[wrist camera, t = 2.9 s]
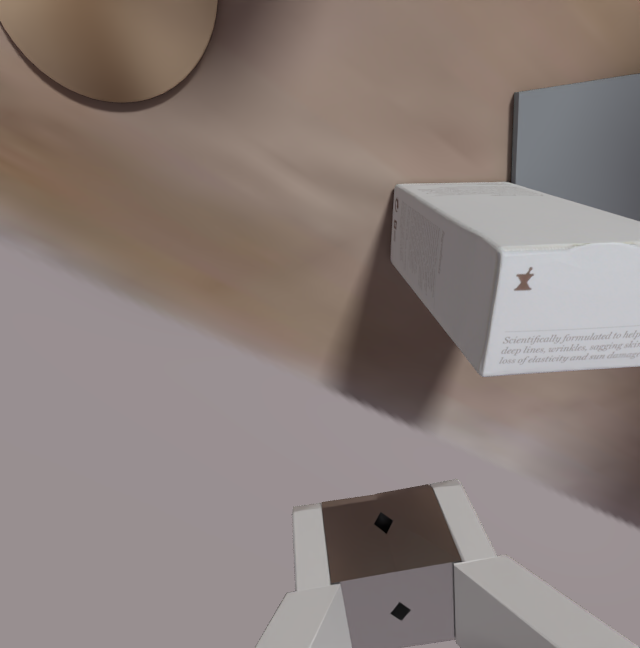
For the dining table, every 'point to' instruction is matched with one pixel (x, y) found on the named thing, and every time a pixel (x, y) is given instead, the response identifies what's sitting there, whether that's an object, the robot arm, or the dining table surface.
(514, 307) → the skincare box
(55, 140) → the dining table surface
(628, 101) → the felt mat
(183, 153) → the dining table surface
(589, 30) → the dining table surface
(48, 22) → the cork coaster
